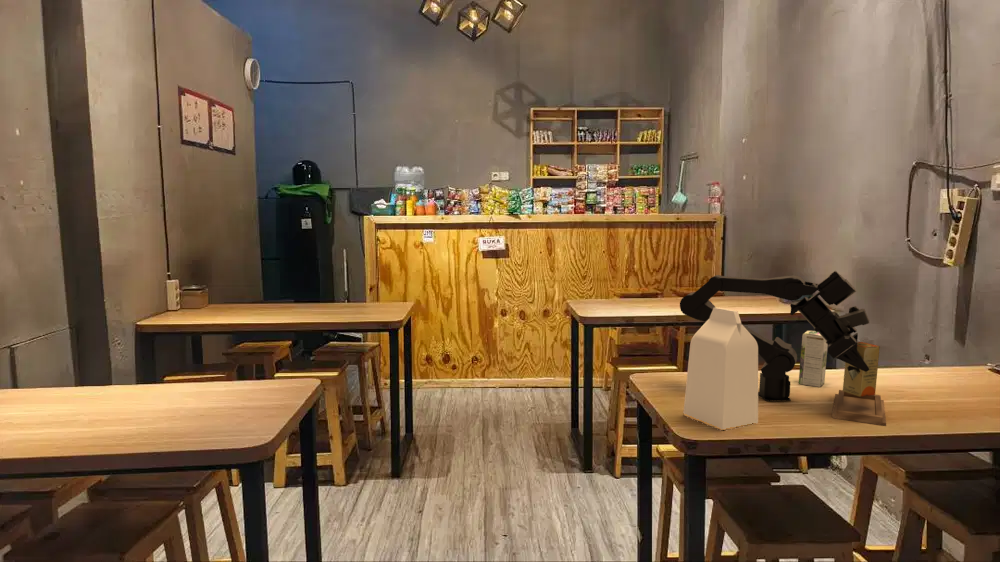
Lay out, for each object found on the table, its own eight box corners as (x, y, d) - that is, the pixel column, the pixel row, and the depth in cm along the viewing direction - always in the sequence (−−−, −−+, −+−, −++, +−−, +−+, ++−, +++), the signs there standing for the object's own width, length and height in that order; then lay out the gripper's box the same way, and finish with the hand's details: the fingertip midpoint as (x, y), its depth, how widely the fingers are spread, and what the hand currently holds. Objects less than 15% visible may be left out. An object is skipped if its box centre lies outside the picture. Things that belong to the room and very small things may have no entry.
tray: (831, 417, 155) (832, 410, 155) (835, 396, 173) (835, 389, 172) (885, 425, 150) (886, 418, 150) (883, 402, 167) (884, 395, 167)
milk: (683, 415, 156) (687, 307, 153) (717, 408, 162) (722, 303, 159) (722, 431, 146) (728, 315, 143) (758, 423, 151) (764, 311, 148)
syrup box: (802, 379, 188) (805, 329, 186) (825, 383, 185) (828, 332, 183) (798, 384, 184) (801, 333, 182) (821, 387, 180) (825, 335, 178)
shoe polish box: (860, 396, 158) (864, 347, 156) (842, 390, 162) (847, 343, 161) (875, 394, 160) (879, 346, 158) (857, 389, 164) (861, 341, 163)
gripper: (848, 302, 152) (899, 355, 148) (849, 292, 168) (895, 340, 164) (807, 331, 156) (856, 384, 153) (813, 319, 173) (857, 366, 169)
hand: (867, 367), depth 159 cm, fingers closed on shoe polish box, 7 cm apart
